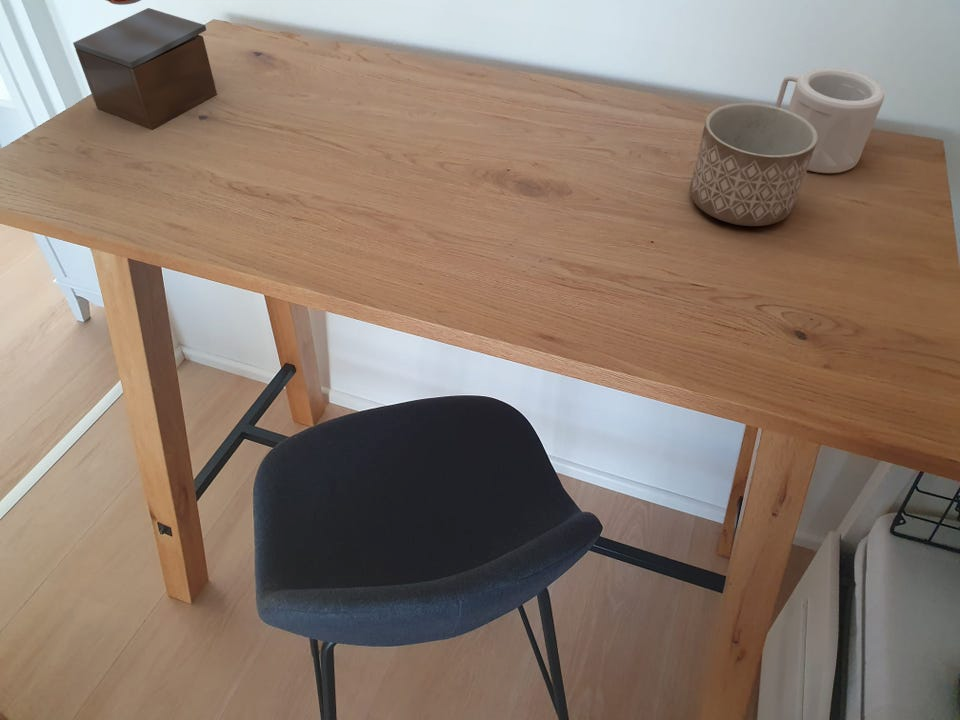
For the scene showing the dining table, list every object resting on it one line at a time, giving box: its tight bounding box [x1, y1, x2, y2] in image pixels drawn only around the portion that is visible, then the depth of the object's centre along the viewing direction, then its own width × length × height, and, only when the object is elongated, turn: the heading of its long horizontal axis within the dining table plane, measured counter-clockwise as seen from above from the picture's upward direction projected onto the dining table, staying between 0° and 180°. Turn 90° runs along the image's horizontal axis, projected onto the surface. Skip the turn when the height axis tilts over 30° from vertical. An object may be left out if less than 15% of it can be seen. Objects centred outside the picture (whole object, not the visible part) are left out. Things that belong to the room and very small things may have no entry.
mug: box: [774, 67, 885, 174], centre depth 102 cm, size 14×11×10 cm
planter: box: [689, 102, 818, 227], centre depth 93 cm, size 13×13×10 cm
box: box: [74, 34, 218, 130], centre depth 111 cm, size 13×12×9 cm
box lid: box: [72, 7, 207, 68], centre depth 107 cm, size 14×12×1 cm
